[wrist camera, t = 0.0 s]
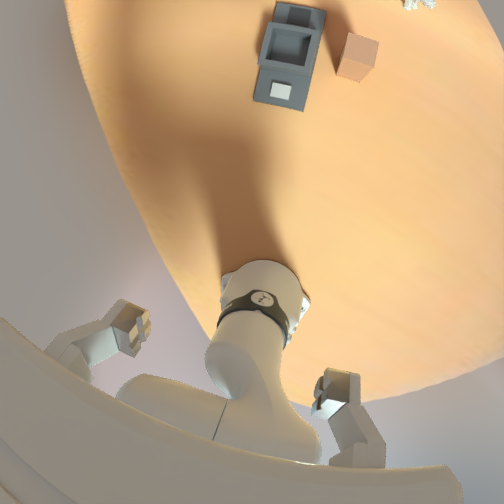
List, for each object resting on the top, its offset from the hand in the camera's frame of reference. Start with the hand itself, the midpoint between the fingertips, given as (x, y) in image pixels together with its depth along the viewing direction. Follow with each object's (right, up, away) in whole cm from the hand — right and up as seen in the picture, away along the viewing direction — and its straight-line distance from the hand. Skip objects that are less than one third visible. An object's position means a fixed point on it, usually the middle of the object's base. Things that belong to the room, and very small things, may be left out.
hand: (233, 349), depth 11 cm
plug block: (+17, +34, +24) cm, 45 cm away
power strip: (+7, +37, +25) cm, 45 cm away
